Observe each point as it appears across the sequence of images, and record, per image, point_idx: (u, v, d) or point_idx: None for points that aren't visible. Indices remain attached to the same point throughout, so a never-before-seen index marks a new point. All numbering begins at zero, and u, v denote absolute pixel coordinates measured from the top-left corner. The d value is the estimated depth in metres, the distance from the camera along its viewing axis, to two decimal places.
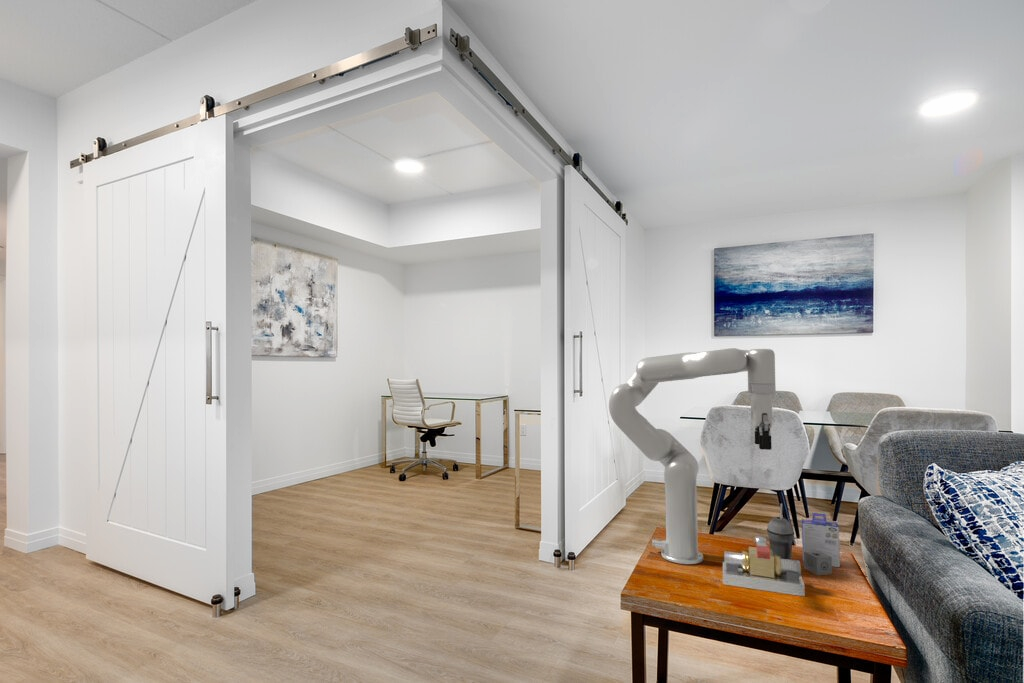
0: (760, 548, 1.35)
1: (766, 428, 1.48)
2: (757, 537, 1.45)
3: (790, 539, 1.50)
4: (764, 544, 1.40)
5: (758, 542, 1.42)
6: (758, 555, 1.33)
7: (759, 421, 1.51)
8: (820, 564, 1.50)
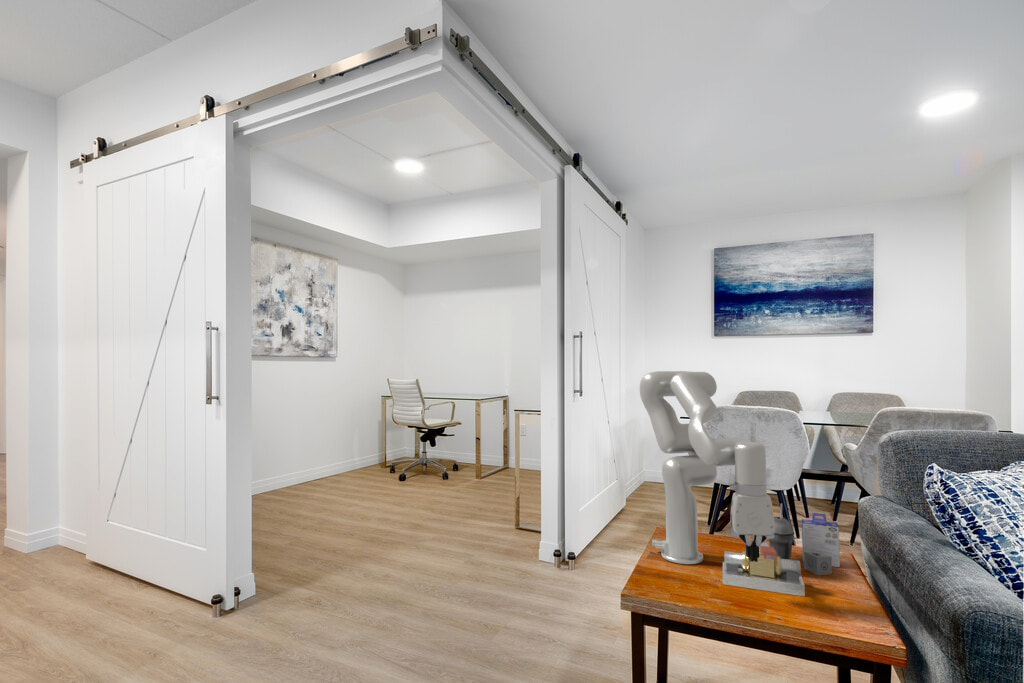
0: (766, 549, 1.35)
1: None
2: None
3: (790, 539, 1.50)
4: (766, 544, 1.40)
5: None
6: (765, 556, 1.33)
7: None
8: (820, 564, 1.50)
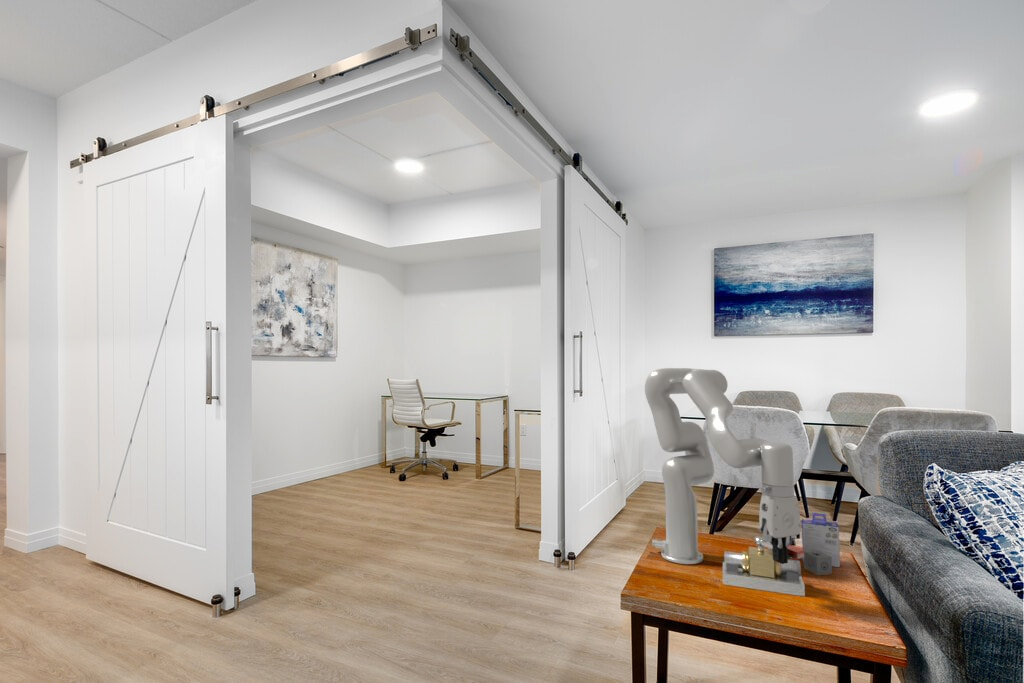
0: (791, 548, 1.35)
1: None
2: (757, 538, 1.44)
3: None
4: None
5: (767, 543, 1.41)
6: (797, 556, 1.33)
7: None
8: (820, 564, 1.50)
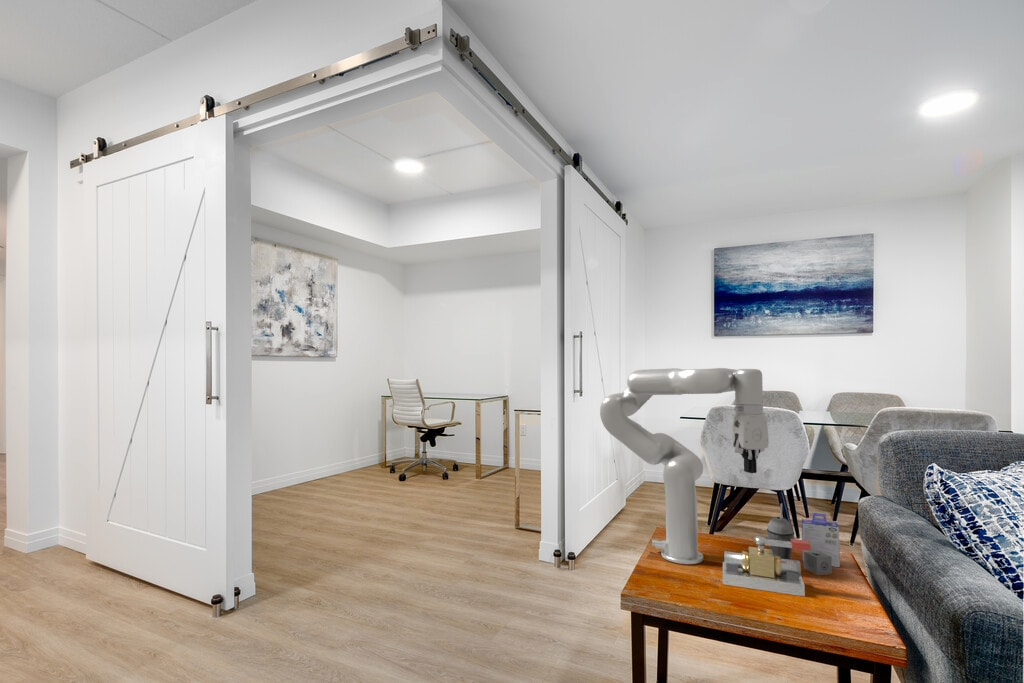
0: (800, 542, 1.40)
1: None
2: (759, 538, 1.43)
3: (790, 539, 1.50)
4: (775, 540, 1.43)
5: (772, 541, 1.42)
6: None
7: None
8: (820, 564, 1.50)
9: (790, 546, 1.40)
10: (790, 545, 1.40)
